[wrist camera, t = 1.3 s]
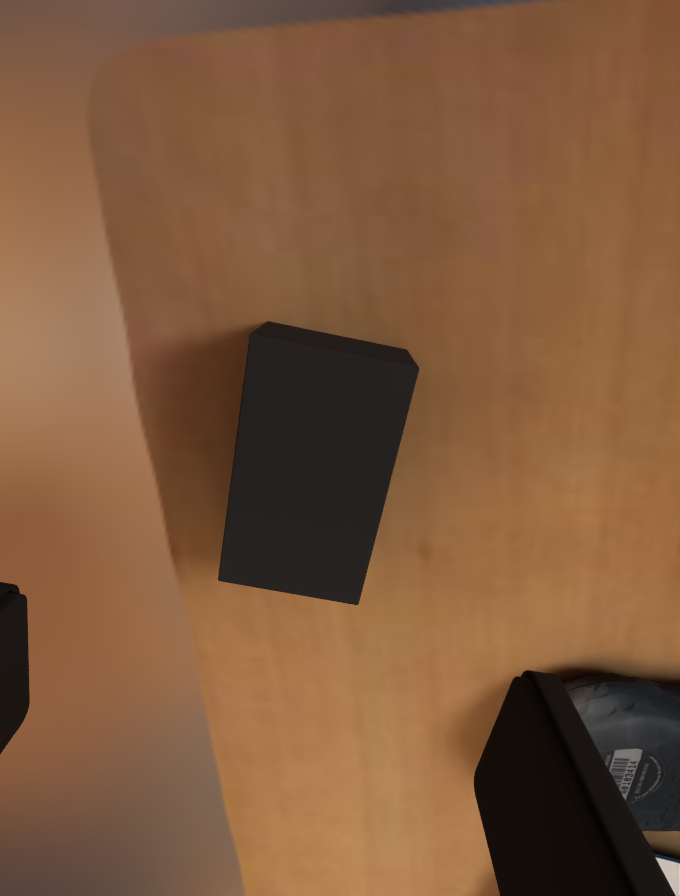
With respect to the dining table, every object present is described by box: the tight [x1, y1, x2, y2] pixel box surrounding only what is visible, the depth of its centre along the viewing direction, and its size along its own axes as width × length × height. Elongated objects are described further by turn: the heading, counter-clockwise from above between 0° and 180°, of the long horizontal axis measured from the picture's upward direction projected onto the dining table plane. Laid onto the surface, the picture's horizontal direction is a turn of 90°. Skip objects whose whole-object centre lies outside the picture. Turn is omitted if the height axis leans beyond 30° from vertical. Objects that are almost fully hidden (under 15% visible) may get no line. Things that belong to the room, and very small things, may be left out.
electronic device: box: [563, 673, 680, 831], centre depth 24 cm, size 9×6×15 cm
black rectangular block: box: [218, 322, 419, 605], centre depth 19 cm, size 10×6×4 cm, turn 169°
